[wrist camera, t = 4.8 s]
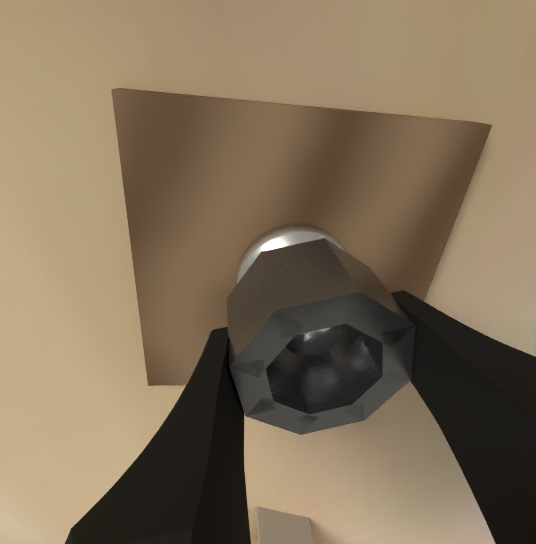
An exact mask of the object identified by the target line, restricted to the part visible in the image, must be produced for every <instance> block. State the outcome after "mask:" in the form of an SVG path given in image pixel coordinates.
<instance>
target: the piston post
mask: <svg viewBox="0 0 536 544" xmlns="http://www.w3.org/2000/svg"><path fill="white" fill-rule="evenodd" d="M322 238H325V239H327V240H328V241H330V242H331V243H333V244H334V245H336V246H337V247H339V248H341V249H342V250H344V248H343V247H342V246H341V244H340V243H339V241H338V240H337V239H336V238H335V237H334V236H333V235H331V234H330V233H329V232H327V231H325V230H324V229H322V228H319V227H317V226H313V225H309V224H301V223H299V224H286V225H282V226H278V227H275V228H273V229H270V230H268V231H266V232H265V233H263V234H261V235H260V236H259V237H257V238H256V239H255V240H254V241H253V242H252V243H250V245H249V246H248V247H247V248H246V250H245V251H244V253H243V254H242V256H241V258H240V261H239V263H238V267H237V273H236V283H237V284H238V282H239V281H240V280H241V278H242V277H243V275H244V274H245V273H246V271H247V270H248V269H249V267H250V266H251V265H252V263H253V262H254V261H255V259H256V258H257V256H258V255H259V254H260V252H262V251H267V250H271V249H276V248H281V247H285V246H290V245H295V244H299V243H304V242H308V241H313V240H318V239H322ZM344 251H345V250H344ZM345 252H346V251H345ZM341 332H342V325H338V326H334V327H329V328H325V329H320V330H316V331H311V332H307V333H302V334H298V335H295V336H294V337H293V338H292V340H291V341H290V342H289V343H288V344H287V345H286V346H285V347H286V348H287V349H288V350H289V351H291V352H293V353H295V354H298V355H302V356H312V355H317V354H320V353H323V352H325V351H327V350H328V349H330V348H331V347H332V346H334V345H335V344H336V342H337V341H338V340H339V338H340V336H341Z"/></svg>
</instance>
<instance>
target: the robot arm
mask: <svg viewBox="0 0 536 544" xmlns="http://www.w3.org/2000/svg"><path fill="white" fill-rule="evenodd" d="M391 295H392V296H393V297H394V298H395V300H396V301H397V302H398V304H399V305H400V306H401V307H402V309H403V310H404V311H405V312H406V314H407V315H408V316H409V317H410V319H411V320H412V321H413V322H414V324H415V325H416V329H415V342H414V356H413V369H412V379H411V380H410V381H411V382H412V384H413V385H414V387H415V388H416V390H417V391H418V393H419V394H420V396H421V398H422V399H423V401H424V402H425V404H426V405H427V407H428V408H429V410H430V411H431V413H432V415H433V416H434V418H435V420H436V421H437V423H438V425H439V426H440V428H441V430H442V432H443V434H444V436H445V438H446V440H447V442H448V444H449V446H450V447H451V449H452V451H453V453H454V455H455V457H456V459H457V461H458V463H459V465H460V467H461V469H462V472H463V474H464V476H465V478H466V480H467V482H468V484H469V486H470V488H471V490H472V492H473V494H474V497H475V499H476V501H477V503H478V505H479V507H480V509H481V512H482V514H483V516H484V518H485V520H486V522H487V525H488V527H489V529H490V532H491V534H492V536H493V538H494V541H495V543H496V544H536V357H535V356H532V355H530V354H527V353H525V352H522V351H520V350H517V349H515V348H513V347H510V346H508V345H506V344H503V343H501V342H499V341H497V340H494V339H492V338H490V337H488V336H486V335H484V334H482V333H480V332H478V331H476V330H474V329H472V328H470V327H468V326H466V325H464V324H462V323H460V322H459V321H457V320H455V319H453V318H451V317H449V316H448V315H446V314H444V313H442V312H441V311H439V310H437V309H436V308H434V307H432V306H430V305H429V304H427V303H425V302H424V301H422V300H420V299H419V298H417V297H415V296H414V295H412V294H410V293H408V292H406V291H405V290H402V291H397V292H392V293H391ZM65 544H251V540H250V530H249V519H248V508H247V497H246V484H245V472H244V410H243V407H242V404H241V401H240V398H239V395H238V392H237V389H236V386H235V383H234V380H233V377H232V374H231V371H230V368H229V348H228V327H223V328H218V329H214V330H212V331H211V332H210V335H209V338H208V340H207V343H206V345H205V347H204V350H203V352H202V354H201V357H200V359H199V361H198V363H197V365H196V367H195V369H194V371H193V373H192V375H191V377H190V379H189V381H188V383H187V385H186V387H185V388H184V390H183V392H182V394H181V396H180V397H179V399H178V401H177V403H176V404H175V406H174V407H173V409H172V411H171V412H170V414H169V415H168V417H167V418H166V420H165V421H164V423H163V424H162V426H161V427H160V429H159V430H158V431H157V433H156V434H155V435H154V437H153V438H152V440H151V441H150V442H149V444H148V445H147V446H146V448H145V449H144V450H143V451H142V453H141V454H140V455H139V456H138V458H137V459H136V460H135V461H134V462H133V464H132V465H131V466H130V467H129V468H128V469H127V471H126V472H125V473H124V474H123V475H122V476H121V478H120V479H119V480H118V481H117V482H116V483H115V484H114V486H113V487H112V488H111V489H110V490H109V491H108V492H107V493H106V494H105V495H104V496H103V497H102V498H101V499H100V500H99V501H98V502H97V503H96V504H95V505H94V506H93V507H92V508H91V509H90V510H89V511H88V512H87V513H86V514H85V515H84V516H83V517H82V519H81V520H80V521H79V522H77V523H76V524H75V525H74V526H73V527H72V528H71V530H70V533H69V535H68V538H67V540H66V542H65Z"/></svg>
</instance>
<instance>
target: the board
mask: <svg viewBox="0 0 536 544" xmlns="http://www.w3.org/2000/svg"><path fill="white" fill-rule="evenodd" d="M112 97H113V105H114V113H115V121H116V129H117V137H118V145H119V153H120V161H121V170H122V178H123V186H124V194H125V202H126V210H127V218H128V226H129V234H130V242H131V250H132V258H133V267H134V275H135V283H136V291H137V299H138V307H139V315H140V323H141V331H142V339H143V347H144V355H145V364H146V372H147V380H148V386H155V385H187V383H188V381H189V379H190V377H191V375H192V373H193V371H194V369H195V367H196V365H197V363H198V361H199V359H200V357H201V354H202V352H203V350H204V347H205V345H206V343H207V340H208V338H209V335H210V332H211V331H212V330H214V329H218V328H223V327H228V322H227V297H228V296H229V295H230V293H231V292H232V290H233V289H234V288H235V286H236V285H237V283H236V273H237V267H238V263H239V261H240V258H241V256H242V254H243V253H244V251H245V250H246V248H247V247H248V246H249V245H250V243H252V242H253V241H254V240H255V239H256V238H257V237H259V236H260V235H261V234H263V233H265V232H266V231H268V230H270V229H273V228H275V227H278V226H282V225H286V224H299V223H301V224H309V225H313V226H317V227H319V228H322V229H324V230H325V231H327V232H329V233H330V234H331V235H333V236H334V237H335V238H336V239H337V240H338V241H339V243H340V244H341V246H342V247H343V248H344V250H345V251H346V252H347V253H348V254H350V255H351V256H353V257H354V258H356V259H358V260H359V261H361V262H362V263H364V264H365V265H367V266H368V267H370V268H371V270H372V271H373V272H374V273H375V275H376V276H377V277H378V278H379V280H380V281H381V282H382V283H383V285H384V286H385V287H386V288H387V290H388V291H389V292H390V293H392V292H397V291H402V290H405V291H406V292H408V293H410V294H412V295H414V296H415V297H417V298H419V299H420V300H422V301H424V299H425V297H426V294H427V292H428V289H429V287H430V284H431V281H432V279H433V276H434V274H435V271H436V268H437V266H438V263H439V261H440V258H441V256H442V253H443V250H444V248H445V245H446V243H447V240H448V238H449V235H450V232H451V230H452V227H453V225H454V222H455V220H456V217H457V214H458V212H459V209H460V207H461V204H462V202H463V199H464V196H465V194H466V191H467V189H468V186H469V184H470V181H471V178H472V176H473V173H474V171H475V168H476V165H477V163H478V160H479V158H480V155H481V153H482V150H483V147H484V145H485V142H486V140H487V137H488V135H489V132H490V129H491V127H492V125H489V124H483V123H478V122H469V121H459V120H448V119H437V118H427V117H416V116H406V115H395V114H385V113H374V112H364V111H353V110H343V109H332V108H322V107H311V106H301V105H290V104H280V103H269V102H258V101H248V100H237V99H227V98H216V97H206V96H195V95H185V94H174V93H164V92H153V91H143V90H132V89H122V88H118V89H112Z"/></svg>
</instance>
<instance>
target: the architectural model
mask: <svg viewBox="0 0 536 544" xmlns="http://www.w3.org/2000/svg"><path fill="white" fill-rule="evenodd" d="M256 519H257V532H258V544H314V541H313V535H312V530H311V525H310V520H309V518H307V517H303V516H298V515H294V514H289V513H284V512H280V511H275V510H271V509H266V508H262V507H256Z"/></svg>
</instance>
